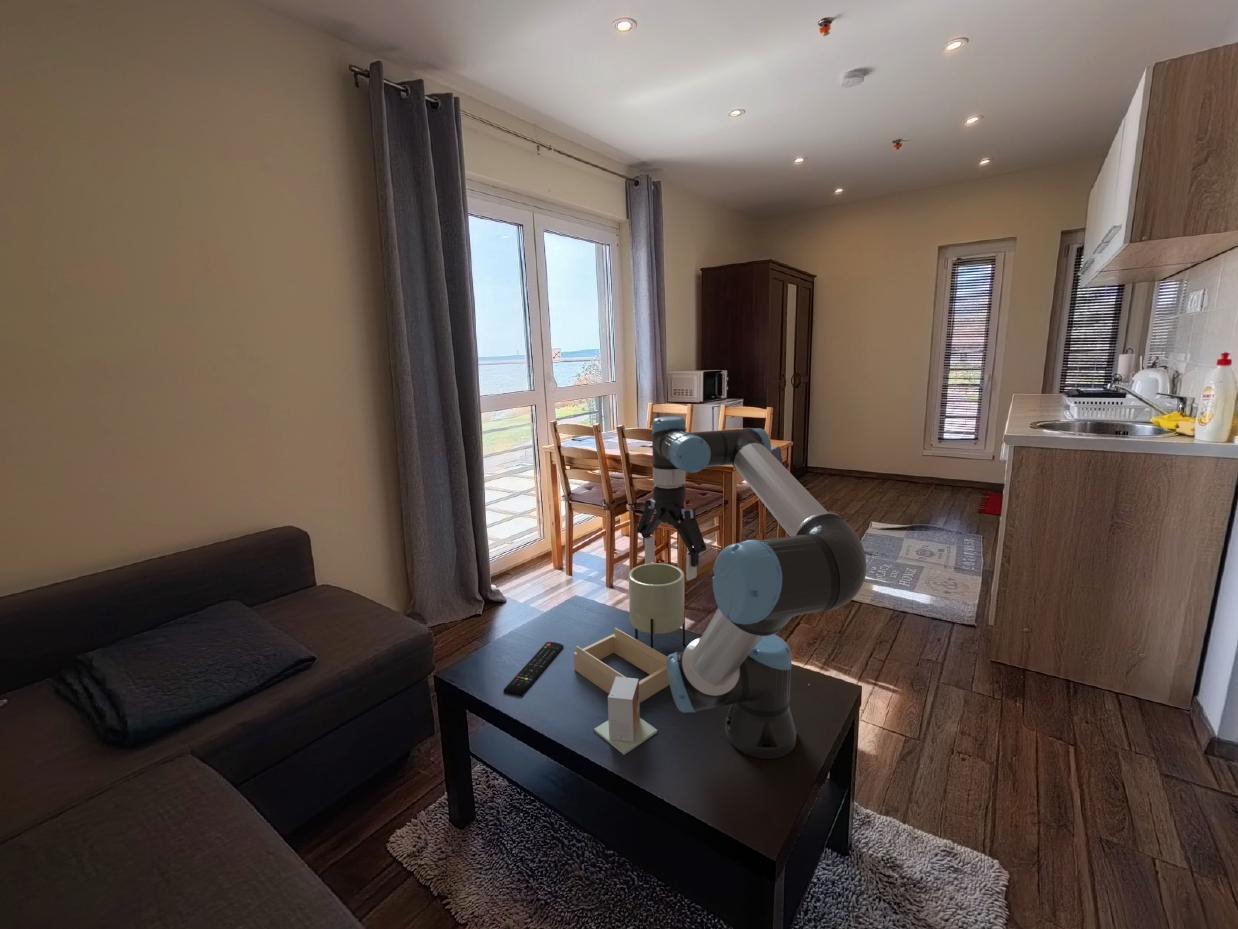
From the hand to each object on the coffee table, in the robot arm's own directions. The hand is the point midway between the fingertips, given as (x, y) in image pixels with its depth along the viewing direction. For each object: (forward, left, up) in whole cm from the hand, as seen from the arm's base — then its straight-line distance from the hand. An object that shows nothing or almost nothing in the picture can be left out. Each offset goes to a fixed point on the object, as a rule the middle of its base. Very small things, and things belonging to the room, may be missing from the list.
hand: (669, 570), depth 130 cm
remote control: (+31, +20, -32) cm, 49 cm away
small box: (-4, +19, -31) cm, 37 cm away
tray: (+12, +6, -32) cm, 34 cm away
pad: (-4, +19, -32) cm, 37 cm away
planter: (+15, -10, -32) cm, 37 cm away
